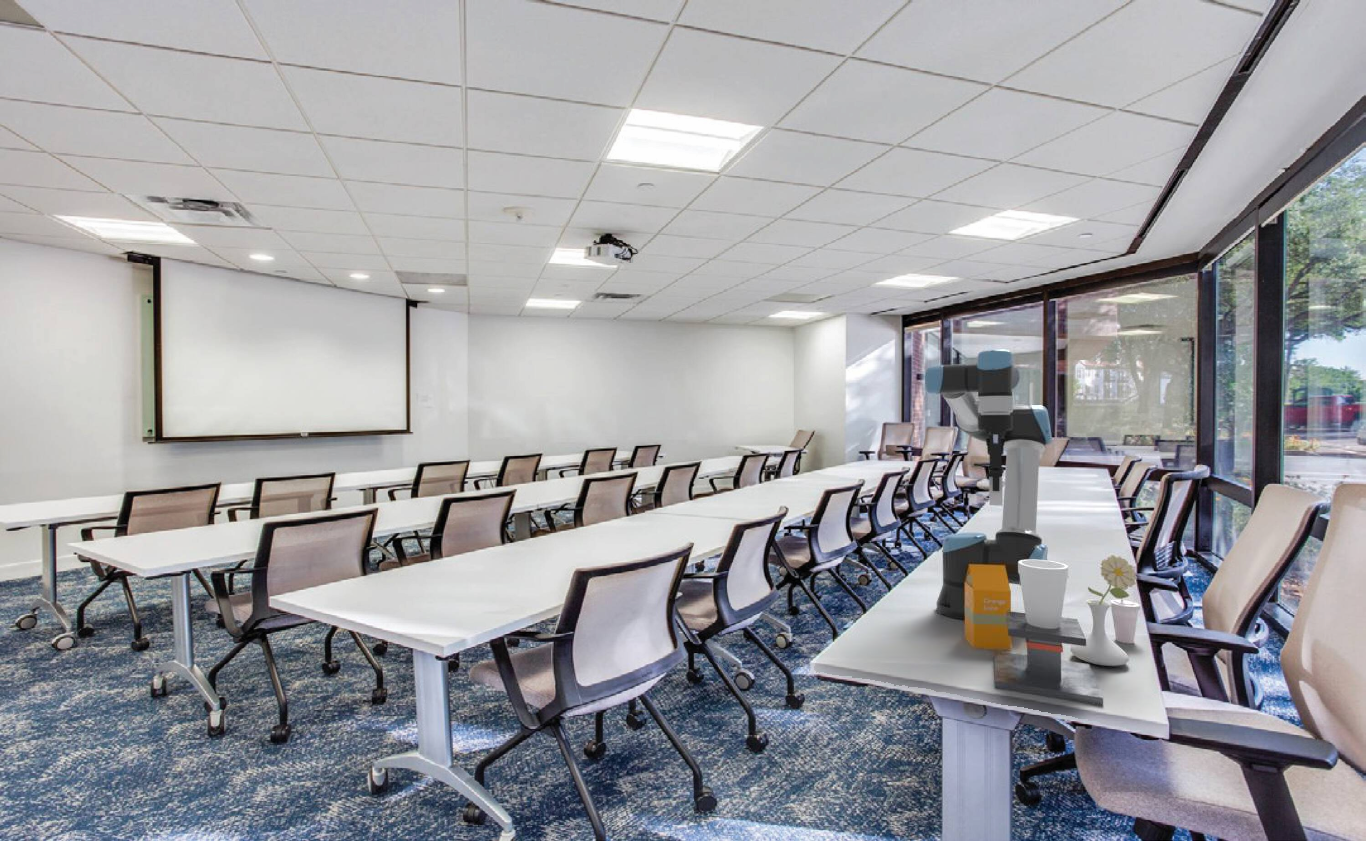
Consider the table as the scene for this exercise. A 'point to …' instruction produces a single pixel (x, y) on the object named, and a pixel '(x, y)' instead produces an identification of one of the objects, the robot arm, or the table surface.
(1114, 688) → the table surface
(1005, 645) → the orange juice
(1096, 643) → the flower in vase
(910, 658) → the table surface
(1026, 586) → the foam cup
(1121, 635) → the smoothie
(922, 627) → the table surface
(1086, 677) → the stand
